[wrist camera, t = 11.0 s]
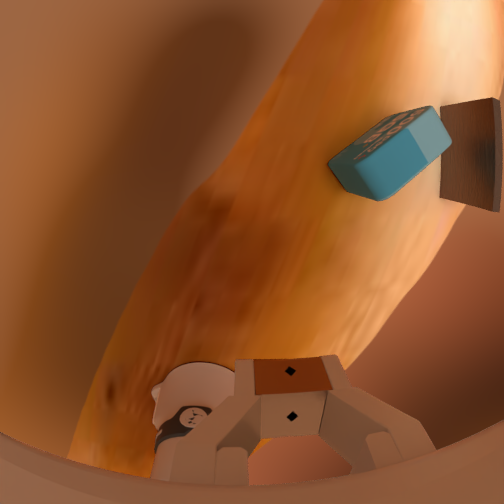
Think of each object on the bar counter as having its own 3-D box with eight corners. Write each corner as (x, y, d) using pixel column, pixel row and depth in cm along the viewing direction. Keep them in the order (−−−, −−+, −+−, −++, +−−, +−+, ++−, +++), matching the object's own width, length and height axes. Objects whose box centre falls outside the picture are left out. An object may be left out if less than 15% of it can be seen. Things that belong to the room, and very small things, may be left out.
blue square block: (388, 115, 35) (437, 102, 23) (405, 142, 36) (457, 139, 24) (324, 164, 37) (358, 165, 25) (344, 191, 38) (383, 204, 26)
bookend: (459, 199, 38) (512, 213, 27) (439, 197, 38) (492, 211, 26) (460, 113, 34) (512, 107, 23) (440, 106, 34) (492, 97, 23)
